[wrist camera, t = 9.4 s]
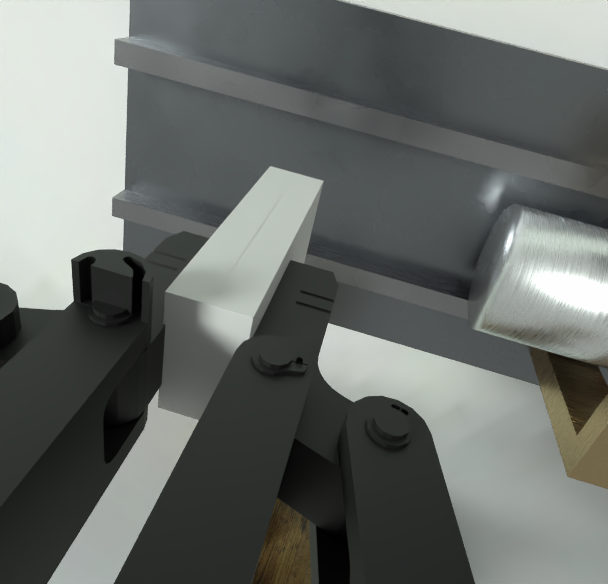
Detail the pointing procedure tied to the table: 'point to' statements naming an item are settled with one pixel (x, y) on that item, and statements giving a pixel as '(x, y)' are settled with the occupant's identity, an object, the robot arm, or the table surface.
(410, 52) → the dark grey base rail
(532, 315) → the tube
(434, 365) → the table surface
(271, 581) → the wooden mug
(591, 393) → the collar
